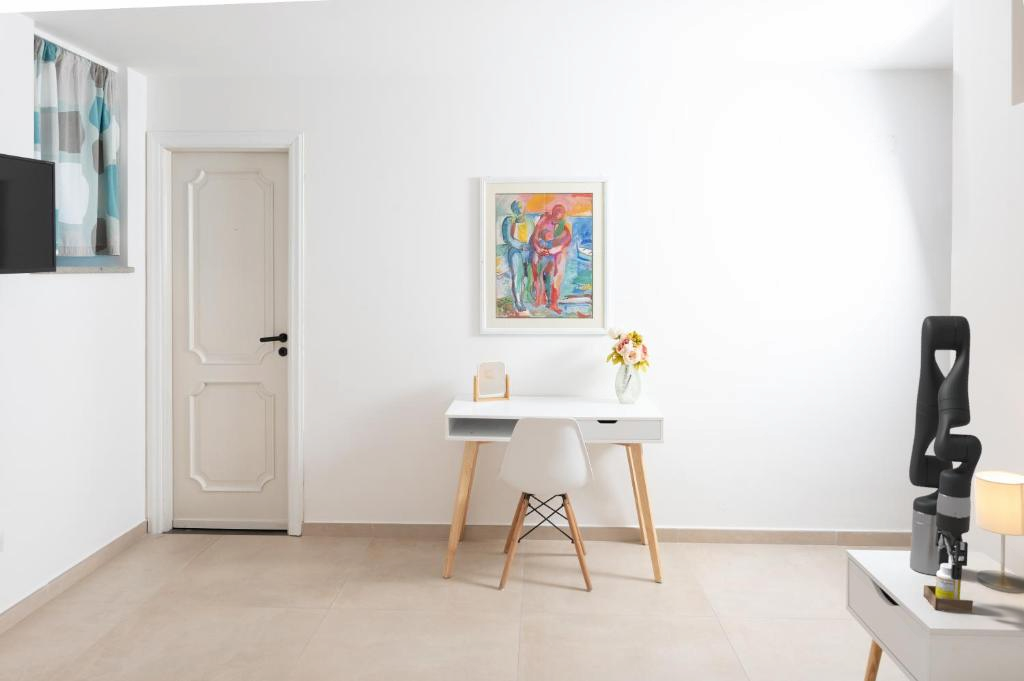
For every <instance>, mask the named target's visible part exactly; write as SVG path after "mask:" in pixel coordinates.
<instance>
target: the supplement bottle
mask: <svg viewBox="0 0 1024 681" xmlns="http://www.w3.org/2000/svg"><path fill="white" fill-rule="evenodd" d="M951 567H952V563H949V562H948V563H942V564H941V565H940V570H939V571H937V574H936V578H935V586H936V593H935V596H936V597H937V598H945V599H959V600H961V587H962V586H961V585H962V584H961V583H962V578H961V579H960V580H954V579H952V578H951Z"/></svg>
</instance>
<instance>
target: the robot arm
mask: <svg viewBox="0 0 1024 681" xmlns="http://www.w3.org/2000/svg"><path fill="white" fill-rule="evenodd" d="M920 334H921V336H920V337H921V338H920V369H919V370H920V371H919V377H918V378H919V379H918V380H919V381H918V387H917V396H916V403H915V404H916V406H915V424H914V436H913V444H912V448H911V456H910V462H909V468H908V478H909V482H910V483H911V485H913V486H914V487H920V488H927V489H928V488H930V489H936V491H934V492H932V493H930V494H927V495H923V496H919V497H916V498H915V499H914V500H913V502H912V520H911V521H912V522H911V538H910V552H909V553H910V556H909V557H910V558H909V568H910V569H911V570H913V571H915V572H917V573H920V574H921V573H922V574H926V575H932V576H935V575H936V574H937V571H939V570H940V565H941V564H942V563H949V559H950V560H951V564H952V567H951V578H952V579H954V580H960V579H961V580H962V575H963V574H962V572H963V567H967V565H968V549H969V544H968V541H963V534H966V533H969V531H970V524H971V509H972V501H971V491H972V490H971V489H972V481H973V480H972V479H973V476H974V473H975V470H976V469H977V465H978V462H979V461H980V458H981V455H982V453H983V452H982V451H983V445H982V442H981V440H980V439H979V437H977V436H976V435H973V434H962V433H960V434H959V433H951V429H955V428H962V427H965V426H968V425H969V424H970V423H971V408H970V407H971V406H970V399H969V375H970V358H971V328H970V323H969V320H968V319H967V318H966V317H965V316H962V315H928V316H926V317H925V318H924V320H922V325H921V332H920ZM936 351H955V360H954V362H953V365H952V367H951V368H950V370H949V372H948V374H947V375H946V376H945V375H944V374H943V372H942V370H941V368H940V366H939V364H938V362H937V359H936ZM933 441H934V442H933ZM931 443H933V453H934V455H930V454H927V450H928V449H929V447H930V445H931ZM953 462H954V463H960V464H959V466H957V467H955V468H954V463H953Z"/></svg>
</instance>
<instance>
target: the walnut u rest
mask: <svg viewBox="0 0 1024 681" xmlns="http://www.w3.org/2000/svg"><path fill="white" fill-rule="evenodd" d="M935 593H936V585H926V584H925V585H924V586H923V597H924V599H925V598H926V599H927V600H928V601H927V600H926V599H925V600H926V601H927V602H928V603H929V605H930V606H931V605H932V606H933V607H932V606H931V607H932V608H933V609H934V610H935V611H942V610H944V612H956V613H970V614H971V613H973V606H974V604H973V603H974V600H972V599H971V600H970V599H960V600H959V599H945V598H937V597H936V596H935Z"/></svg>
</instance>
